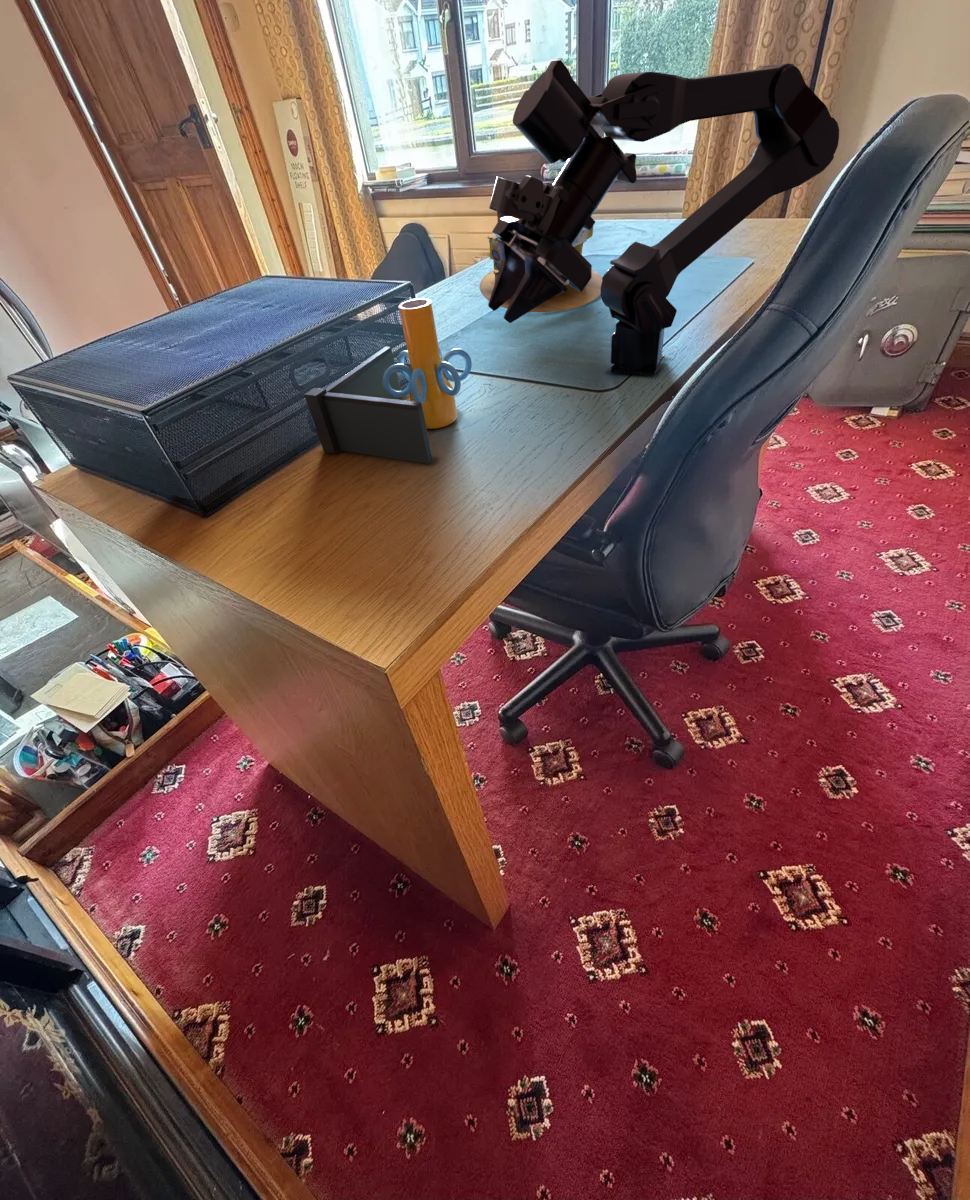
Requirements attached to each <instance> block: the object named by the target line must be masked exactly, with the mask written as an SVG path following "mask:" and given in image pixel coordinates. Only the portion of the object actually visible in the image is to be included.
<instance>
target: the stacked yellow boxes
mask: <svg viewBox="0 0 970 1200" xmlns="http://www.w3.org/2000/svg"><path fill="white" fill-rule="evenodd" d="M496 216H497V222H498V221H499V219H500V218H504V217H510V216H507V215H504V214H502V213H499V212H497V211H496ZM512 218H514V219H517V220H519V219H520V218H519V217H516V216H512ZM593 234H594V226H593V227H592V228H591V229H590V230H588V229H586V228H583V230H582V231H581V233H580V234H579V236H578V237H577V239H576V240H575V242H574V243H573V245H572V246H573V247H574V248H575V249H576V250H577V251H578V252H579V253H580V254H581V255H583V254H582V253H583V247H584V244H585V243H587V241H588V240H590V238H592V237H593V236H594V235H593ZM486 238H487V239H488V243H489V258H488V259H489V260H493V261H492V262H493V269H492V270H490V271H489V272H488V273H486V274H485V275H484V276H483V277H482V279H481V280H480V282H479V291H480V293H481V295H482V297H484V299H485V300H487V301H488V302H489V301H490V297H491V294H492V291H493V288H494V285H495V282H496V278H497V275H498V272H499V268H500V264H501V254H500V248H499V246H498V243H497V241H498V238H497V237H495V238H493V237H490V236H489V235H487V237H486ZM602 277H603V276H602V275H601V274H600V273H599V272H597V271H596V270H594V269H593V268H592V278H591V279H590V281H589V282H588V283H587V285H586V286H585V288H584V289H583V291H582V292H580V291H578V290H576V289H574V288H572V287H571V286H570V285H569V280H567V281H566V283H565V284H564V285H565V286H566V287H567V288H568V290H567V291H566V292H561V293H560V294H558V295H556V296H554V297H552V298H551V299H549V300H547V301H545V302H544V303H542V304H540V305H539V306H537V307H535V308H534V309H532V310H531V311H529V312H528V313H555V312H562V311H568V310H572V309H576V308H581V307H582V306H585V305H587V304H589V303H591V302H593V301H595V300H596V299H598V298H599V297H601V295H600V290H601V284H602ZM513 296H514V295H513ZM513 296H512V297H510V298H509V299H508V300H507V301H506V302H505V303H504V304H503V305H501V306H500V307H501V308H504V309H507V308H508V306H509V304H510V302H511V300H512V298H513Z"/></svg>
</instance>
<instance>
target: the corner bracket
mask: <svg viewBox="0 0 970 1200" xmlns="http://www.w3.org/2000/svg"><path fill="white" fill-rule="evenodd" d="M360 363H361V364H360V365H358V366H357V367H355V368H354V369H353V370H351V371H350V372H348V373H347V374H345V375H344V376H342V377H341V378H340V379H338V380H337V381H335V382H334V383H332V384H331V385H330V386H328V387H327V388H321V387H312V388H311V389H310V390H308V391H307V392H305V393H304V395H303V396H304V399H305V402H306V406H307V407H308V410H309V414H310V416H311V419H312V422H313V425H314V427H315V430H316V434H317V436H318V439H319V442H320V445H321V448H322V451H323V453H327V454H334V455H335V454H338V452H339V451H342V452H348V453H354V454H355V453H356V454H360V455H361V454H362V455H368V456H375V457H381V458H388V459H394V460H400V461H407V462H413V463H420V464H427V465H430V464H431V463H432V462H433V461H434V457H433V454H432V448H431V442H430V439H429V433H428V429H427V428H426V423H425V418H424V413H423V408H422V404H421V402H415V401H410V400H404V399H403V398H404V397H394V396H391V395H390V394H388V393H387V391H386V390H385V388H384V386H383V376H384V373H385V371H386V370H387V369H388V368H389V367H390V366H392V365H395V364H396V362H395V357H394V353H393V349H392V346H384V347H383V348H381V349H380V350H379V351H377V352H376V353H374V354H373V355H371V356H369V357H368V358H367V359H365V360H364V361H362V362H360ZM399 380H400V379H399V376H398V371H395V372H393V373H392V374H391V375H390V377H389V385H390V387H391V388H392V389H393V390H395V391H402V389H401V385H400V381H399Z"/></svg>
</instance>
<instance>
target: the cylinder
mask: <svg viewBox="0 0 970 1200" xmlns="http://www.w3.org/2000/svg"><path fill="white" fill-rule="evenodd" d="M398 312H399V315H400V320H401V326H402V331H403V335H404V340H405V345H406V350H402V351H400V352H399V353H398V357H397V363H395V365H392V366H390V367H389V368H388V369H387V370H386V371H385V373H384V376H383V386H384V388H385V390H386V391H387V393H388V394H390V395H391V396H394V397H403V398H404V397H407V396H408V395H409V401H415V402H421V404H422V408H423V413H424V418H425V423H426V428H427V430H433V429H440V428H444V427H447V426H449V425H451V424H453V423H454V422H455V421H456V420H457V418H458V410H457V404H456V397H455V396H457V395H458V394H459V393H460V391H461V385H462V384H461V383H462V381H464V380H465V379H467V377H468V376H469V375H470V373H471V371H472V366H473V365H472V358H471V356H470V355H469V353H468V352H467V351H466V350H464V349H462V348H453V349H450V350H449V351H447V352H446V353H445V354H444V356H443V354H442V351H441V348H440V346H439V341H438V334H437V328H436V322H435V316H434V310H433V304H432V299H429V298H426V297H420V298H411V299H408V300H405V301H403V302H401V303H400V304H398ZM454 356H460V357H462V358H463V359H464V362H465V368H464V370H463V371H462V373H460V374H459V372H458V371H457V369H456V368H455V367H454V365H452V364H451V363H450V362H449V361H450V359H451V358H453V357H454ZM405 358H407V359H408V360H409V365H410V367H409V366H408V365H406V364H405ZM395 371H397V372H398V371H400V373H401V375H402V376H403V377H404V379H405V380H406V381H408V384H407V386H406V387H405V388H404V389H401V391H395V390H393V389H392V388H391V387H390V385H389V377H390V375H391V374H392V373H393V372H395ZM451 382H452V383H453V384H454V385H453V384H452V383H451ZM453 386H454V387H453Z"/></svg>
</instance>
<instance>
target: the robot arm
mask: <svg viewBox="0 0 970 1200" xmlns="http://www.w3.org/2000/svg"><path fill="white" fill-rule="evenodd" d="M750 112H752V113H753V115H754V128H755V134H756V135H755V136H756V137H757V139H758V141H759V143H758V144H757V146H756V148H755V150H754V152H753V154H752V157H751V159H750V161H749V163H748V165H746V167H745V168H744V169H742V171H740V172H739V173H738V174H737V175H735V176H734V177H733V178H732V179H731V180H730V181H729V182H727V183H726V184H725V185H724V186H723V187H722V188H721V189H719V190H718V191H717V192H716V193H715V194H714V195H712V196H711V197H710V198H709V199H708V200H706V201H705V202H704V203H703V204H702V205H701V206H699V208H697V209H696V210H695V211H694V212H693V213H692V214H690V215H689V216H688V217H687V218H685V219H684V220H683V221H682V222H681V223H680V224H678V226H676V227H675V228H673V230H671V232H669V233H668V234H666V236H665V237H664V238H662V239H660V241H659V242H658V243H656V244H654V245H647V244H644V243H641V242H639V241H634V242H633V243H631V244H630V245H629V246H628V247H627V248H626V249H625V251H624V252H623V253H622V254H621V255H619V256H618V257H617V258H614V259H612V260H610V261H609V264H610V265H611V266H610V267H609V268H608V269H607V270H606V271H605V273H604V274H603V276H601V277H602V284H601V290H600V298H601V302H602V303H603V305H604V306H605V307H607V308H608V310H609V313H610V316H611V319H615V320H617V323H616V324H615V331H614V332H613V333H612V335H611V339H610V340H611V341H610V343H611V344H610V364H611V365H612V366H611V367H610V368H609V369H610V371H609V372H610V373H613V374H625V375H638V376H639V375H640V376H655V375H656V374H657V372H658V370H660V367H661V366H662V363H664V361H665V355H664V354H663V348H664V340H665V339H664V338H665V330H666V329H668V328H670V327H672V325H673V323H674V320H675V318H676V316H677V311H678V310H677V308H676V307H675V306H674V305H673V304H672V303H671V302H670V301H669V300H668V299H667V298H668V296H669V295H670V293H671V291H672V289H673V286H674V285H675V283H676V281H677V278H678V276H679V275H680V274H681V273H682V272H683V271H684V270H685V269H687V268H688V267H689V266H690V265H692V264H693V263H694V262H695V261H696V260H697V259H698V258H700V257H701V256H702V255H703V254H705V253H706V252H707V251H708V250H709V249H711V247H713V246H714V245H715V244H717V243H718V242H719V241H720V240H721V239H722V238H723V237H725V236H726V235H727V234H729V233H730V232H731V231H732V230H733V229H734V228H736V227H737V226H738V225H739V224H740V223H741V222H743V221H744V220H745V219H746V218H747V217H748V216H750V215H751V214H752V213H754V212H755V211H756V210H757V209H758V208H759V207H760V206H762V205H763V204H764V203H766V201H768V200H769V199H770V198H772V197H774V196H776V195H778V194H781V193H784V192H787V191H789V190H792V189H795V188H797V187H799V186H801V185H803V184H805V183H806V182H808V181H810V180H812V179H813V178H815V177H816V176H818V175H819V174H821V173H822V172H824V171H825V170H826V169H827V168H828V167H829V166H830V164H831V163H832V161H833V160H834V159H835V153H836V152H837V149H838V146H839V140H840V127H839V122H838V121H837V120H836V119H835V117H832V116H831V113H830V111H829V109H828V107H827V105H826V104H825V103H824V102H823V100H821V99H820V97H819V96H818V95H817V94H816V93H815V92H814V91H813V90H812V89H811V88H810V87H809V86H808V84H806V81H805V79H804V76H803V74H802V72H801V70H800V69H799V67H797V66H796V65H795V64H793V63H789V62H787V63H777V64H776V63H775V64H766V65H763V66H762V67H760V68H756V69H748V70H741V71H734V72H726V73H720V74H713V75H704V76H696V77H685V76H680V75H676V74H671V73H663V72H656V71H641V72H631V73H620V74H617V75H614V76H613V77H612V78H610V79H609V80H608V82H607V83H606V86H605V87H604V89H603V90H602V92H601V93H598V94H596V95H592V96H587V95H586V94H585V93H584V91H583V90H582V89H581V88H580V86H579V85H578V83H577V82H576V81H575V80H574V79H573V77H572V75H571V73H570V70H569V69H568V67H567V66H566V64H565V63H564V62H563V61H562V59H557V60H551V61H550V62H549V64H548V65H547V67H546V69H545V71H544V72H543V73H541V74H540V75H539V76H538V77H537V78H536V79H535V81H534V82H533V83H532V84H531V85H530V87H529V88H528V90H527V89H526V90H525V91H524V92H523V94H522V96H521V97H520V99H519V101H518V103H517V105H516V108H515V110H514V113H513V116H512V124H513V125H514V126H515V128H517V130H518V131H519V132H520V133H521V134H522V135H523V137H525V139H526V140H527V141H528V142H529V144H530V145H531V146H533V148H535V150H536V151H537V152H538V153H539V154H540V156H542V158H543V159H544V160H545V161H546V162H547V163H548V164H550V165H552V164H555V163H557V162H559V161H560V162H561V163H565V162H566V163H565V164H564V166H563V167H562V168H561V171H560V172H559V174H558V176H557V177H556V178H555V180H554V182H553V183H550V182H546V183H544V181H543V180H542V179H538V178H536V177H533V176H530V175H525V176H524V177H523V178H522V180H521V181H520V183H518V182H517V181H513V180H509V179H507V178H503V177H500V176H496V179H495V183H494V186H493V191H492V196H491V199H490V203H489V207H488V209H489V210H492V211H494V212H496V213H497V212H499V213H502V214H504V215H507V216H510V217H504V218H500V219H499V221H498V220H497V223H496V225H494V227H493V229H492V231H491V233H492V234H493V236H495V238H498V241H497V243H498V246H499V248H500V254H501V264H500V268H499V272H498V275H497V278H496V282H495V285H494V288H493V291H492V294H491V297H490V301H489V300H488V304H487V306H488V308H490V309H491V310H492V311H497V310H498V309H499V308H500V307H501V305H503V304H504V303H505V302H506V301H507V300H508V299H509V298H510V297H512V296H513V295H514V296H513V298H512V300H511V302H510V304H509V306H508V308H506V311H505V313H504V315H503V319H504V320H505V321H506V322H507V323H508V324H511V323H513V322H515V321H517V320H518V319H520V318H521V317H523V316H524V315H526V314H528V313H530V312H529V311H531V310H532V309H534V308H535V307H537V306H539V305H540V304H542V303H544V302H545V301H547V300H549V299H551V298H552V297H554V296H556V295H558V294H560V293H561V292H566V291H567V290H568V288H567V287H566V286H565V285H564V284H565V283H566V281H567V280H569V285H570V286H571V287H572V288H574V289H576V290H578V291H580V292H582V291H583V289H584V288H585V286H586V285H587V283H588V282H589V281H590V279H591V278H592V269H593V267H592V266H593V265H592V263H590V262H589V260H587V258H586V257H584V255H583V254H580V253H579V252H578V251H577V250H576V249H575V248H574V247H573V246H572V245H573V243H574V242H575V240H576V239H577V237H578V236H579V234H580V233H581V231H582V230H583V228H586V229H588V230H590V229H591V228H592V227H593V228H594V225H595V223H596V220H595V219H594V218H593V217H592V216H593V215H594V213H595V212H596V210H597V209H598V208H599V206H600V204H601V203H602V201H603V199H604V198H605V197H606V195H607V194H608V192H609V190H610V189H611V187H612V186H613V184H614V183H615V181H618V182H622V183H626V184H635V183H636V182H637V178H638V177H637V168H636V161H637V154H635V153H631V152H625V153H624V152H623V150H622V149H621V147H619V145H618V144H617V143H616V141H627V142H628V141H629V142H641V143H644V142H647V141H650V140H652V139H654V138H657V137H659V136H662V135H665V134H668V133H670V132H671V131H673V130H674V129H676V128H677V127H679V126H681V125H683V124H685V123H688V122H691V121H692V122H693V121H698V120H699V121H700V120H705V119H711V118H712V119H713V118H718V117H726V116H732V115H738V114H745V113H750ZM593 126H594V127H600V128H601V130H602V132H603V134H605V136H603V137H602V136H601V135H600V134H599V133H598V132H597V131H596V129H595V128H594V127H593ZM615 140H616V141H615ZM512 216H516V217H519V218H520V219H519V220H517V219H514V218H512Z"/></svg>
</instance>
